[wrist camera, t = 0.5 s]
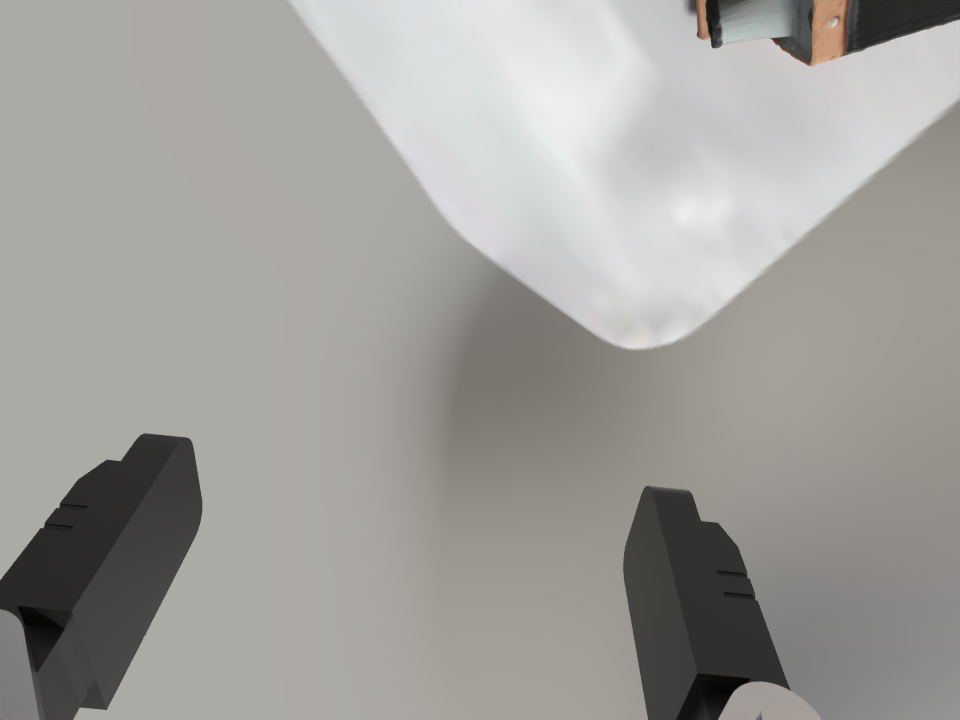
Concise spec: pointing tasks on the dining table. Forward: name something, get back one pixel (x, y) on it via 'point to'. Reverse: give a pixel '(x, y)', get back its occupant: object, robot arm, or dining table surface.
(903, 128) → the dining table surface
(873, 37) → the electronic device
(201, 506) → the robot arm
